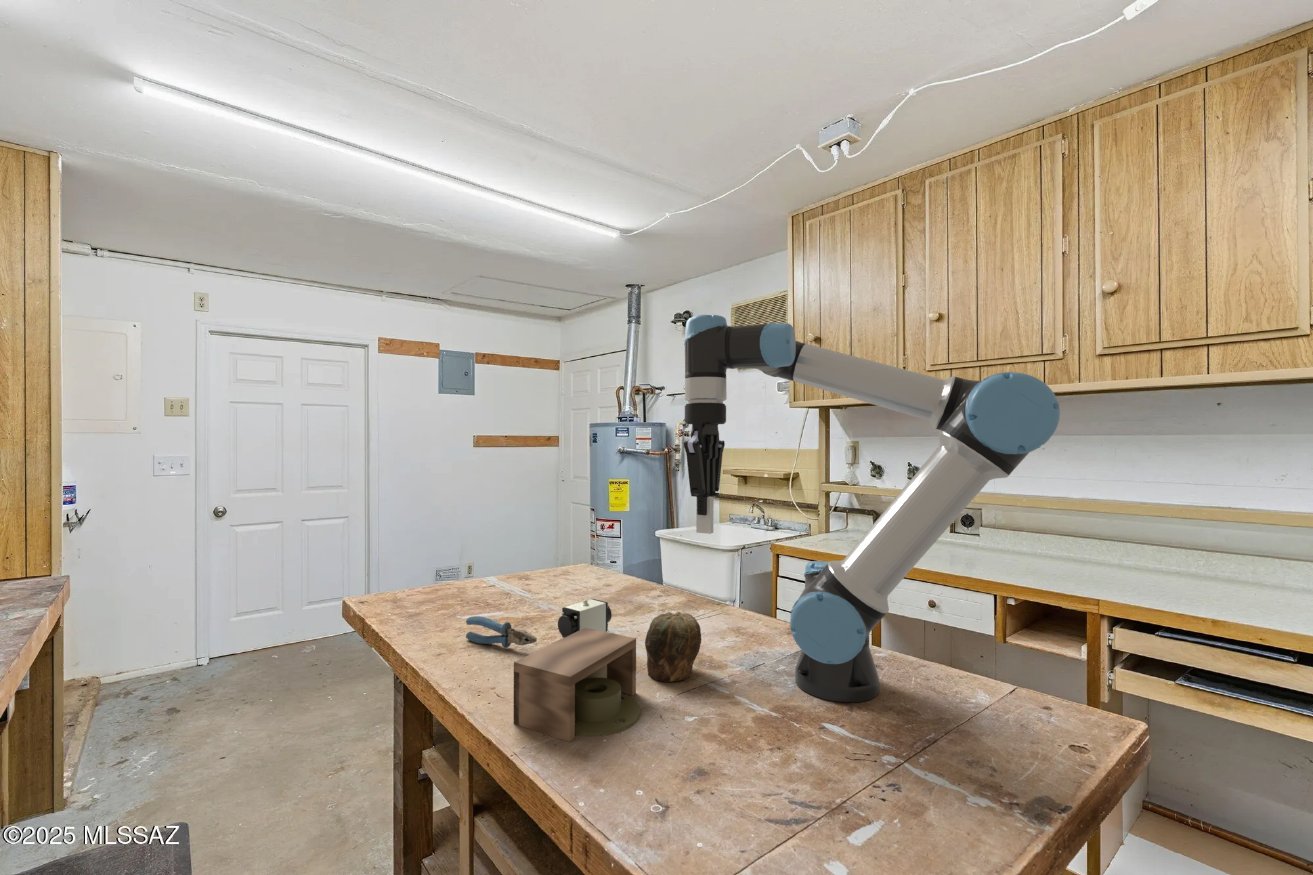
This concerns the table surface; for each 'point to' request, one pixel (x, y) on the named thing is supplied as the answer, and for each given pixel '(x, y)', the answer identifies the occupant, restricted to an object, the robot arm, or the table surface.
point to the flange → (602, 707)
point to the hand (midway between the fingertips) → (704, 532)
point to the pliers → (505, 630)
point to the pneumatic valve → (584, 617)
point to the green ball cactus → (672, 646)
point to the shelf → (569, 678)
